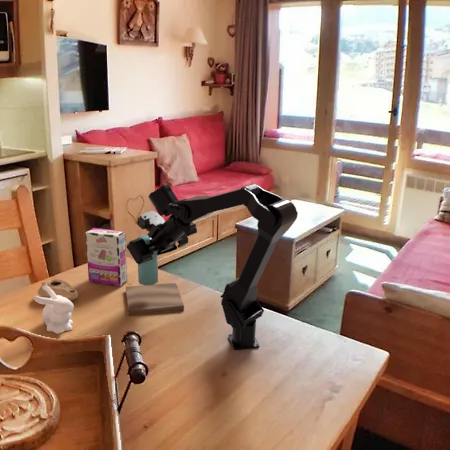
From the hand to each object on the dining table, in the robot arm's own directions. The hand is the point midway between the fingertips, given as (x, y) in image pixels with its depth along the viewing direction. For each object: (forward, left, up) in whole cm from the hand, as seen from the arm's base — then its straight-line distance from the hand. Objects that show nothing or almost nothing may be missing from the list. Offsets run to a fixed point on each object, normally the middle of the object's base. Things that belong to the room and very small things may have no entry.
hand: (144, 258), depth 144 cm
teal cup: (-1, -1, -7) cm, 7 cm away
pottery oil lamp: (+5, +24, -13) cm, 28 cm away
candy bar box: (+15, +10, -13) cm, 23 cm away
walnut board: (0, -2, -13) cm, 13 cm away
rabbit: (-11, +23, -13) cm, 29 cm away
